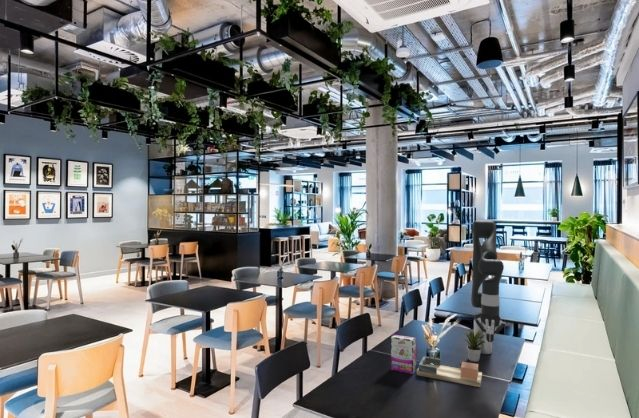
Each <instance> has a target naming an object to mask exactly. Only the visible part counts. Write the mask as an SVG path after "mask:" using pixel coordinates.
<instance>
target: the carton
mask: <svg viewBox="0 0 639 418" xmlns="http://www.w3.org/2000/svg"><path fill="white" fill-rule="evenodd" d="M460 369H461V377H465V378H470V379H475V380H477V378H478V372H479V363H473V362H466V361H462V362H461V365H460Z"/></svg>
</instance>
